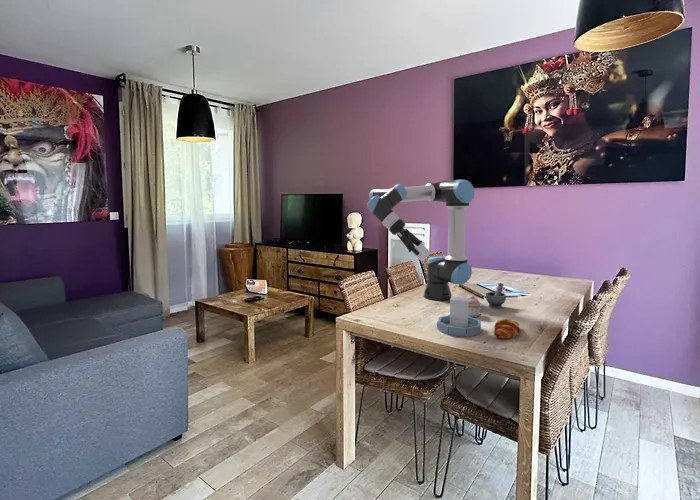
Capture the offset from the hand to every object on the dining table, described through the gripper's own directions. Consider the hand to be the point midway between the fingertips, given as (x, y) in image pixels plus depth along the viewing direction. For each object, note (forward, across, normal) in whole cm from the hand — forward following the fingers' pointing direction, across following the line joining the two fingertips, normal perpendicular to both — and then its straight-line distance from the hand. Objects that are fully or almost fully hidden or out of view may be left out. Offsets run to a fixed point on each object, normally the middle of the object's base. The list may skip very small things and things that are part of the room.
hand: (426, 257), depth 179 cm
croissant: (+46, +8, +4) cm, 46 cm away
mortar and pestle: (+43, -33, 0) cm, 54 cm away
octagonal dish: (+31, +8, -10) cm, 34 cm away
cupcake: (+35, -14, -7) cm, 38 cm away
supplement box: (+31, +8, -9) cm, 33 cm away
